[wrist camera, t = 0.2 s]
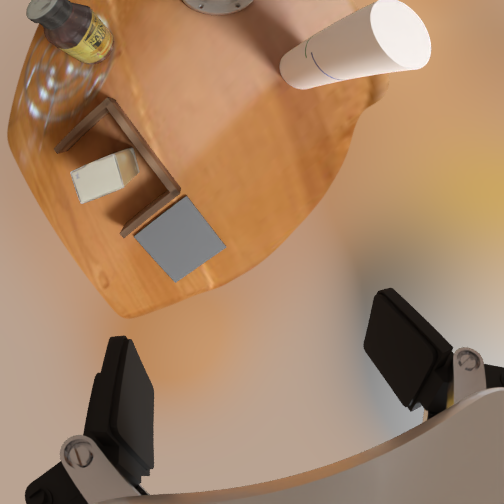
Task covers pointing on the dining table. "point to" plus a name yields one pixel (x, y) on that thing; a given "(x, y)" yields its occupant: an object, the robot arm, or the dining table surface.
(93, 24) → the sauce bottle
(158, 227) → the grey rubber mat
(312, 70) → the cylindrical container
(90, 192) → the skincare box
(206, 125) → the dining table surface
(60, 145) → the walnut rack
